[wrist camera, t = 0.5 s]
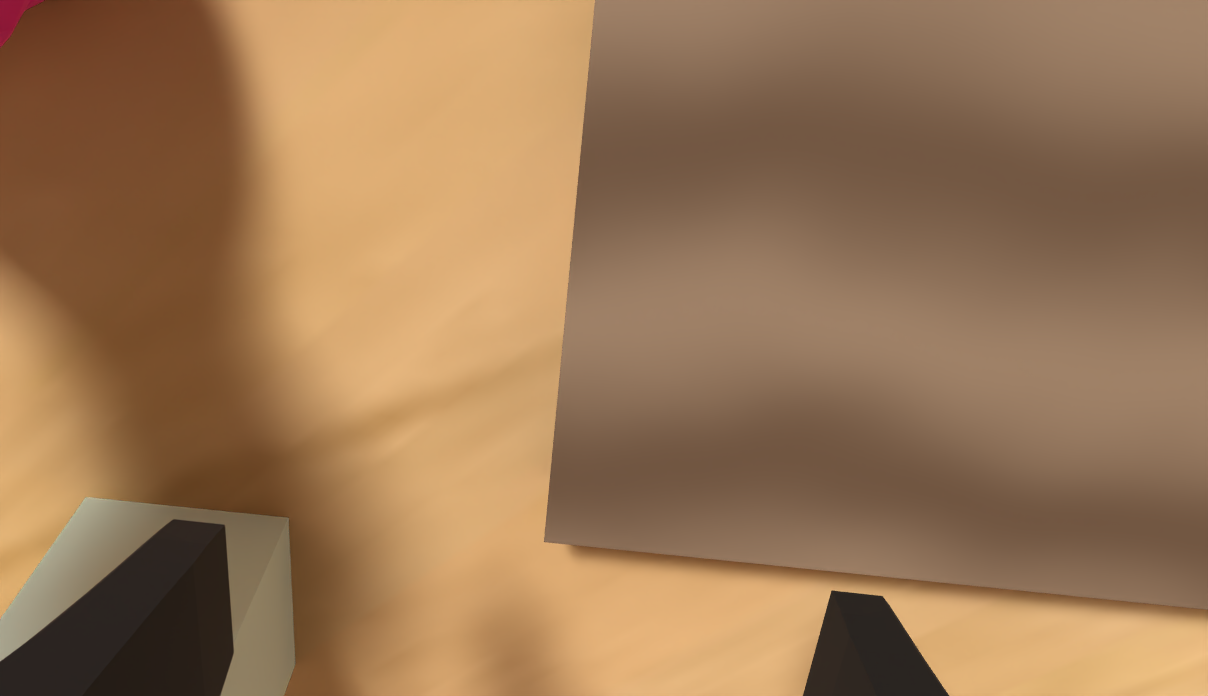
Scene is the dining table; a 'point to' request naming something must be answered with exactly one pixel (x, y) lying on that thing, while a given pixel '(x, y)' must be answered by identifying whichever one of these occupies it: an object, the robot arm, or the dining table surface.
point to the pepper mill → (12, 15)
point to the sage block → (122, 527)
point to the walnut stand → (894, 292)
